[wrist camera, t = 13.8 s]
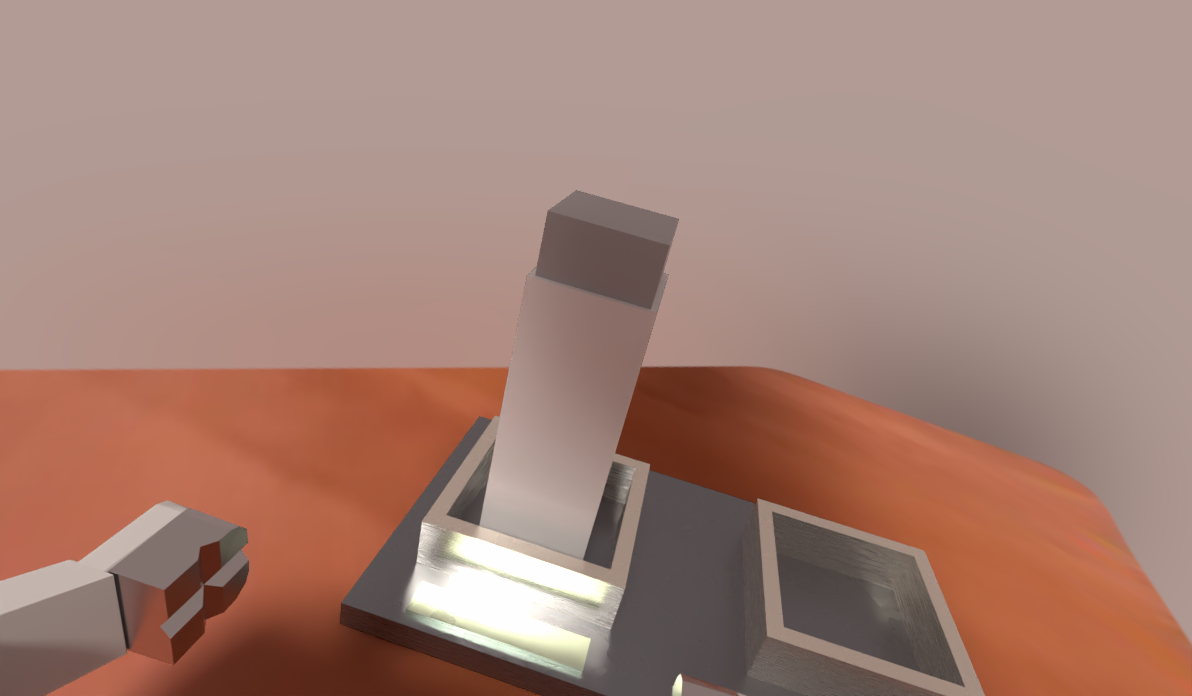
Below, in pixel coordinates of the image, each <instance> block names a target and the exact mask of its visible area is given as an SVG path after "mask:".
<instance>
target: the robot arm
mask: <svg viewBox="0 0 1192 696" xmlns="http://www.w3.org/2000/svg"><path fill="white" fill-rule="evenodd" d="M247 543H248V538H247V529H245V528H243V527H240V526H237V525H235V524H232V523H229V522H227V521H224V520H221V519H218V518H216V517H213V516H210V515H208V514H205V513H202V512H199V511H197V510H194V509H191V508H188V507H186V506H183V505H180V504H177V503H174V502H171V501H165V502H162V503H159V504H156V505H155V506H153V507H152V508H151V509H149V510H148V511H146V512H145V513H144V514H142V515H141V516H140V517H138V518H137V519H136V520H134V521H133V522H132V523H130V524H129V525H127V526H126V527H125V528H123V529H122V530H121V531H119V532H118V533H117V534H115V535H114V536H112V537H111V538H110V539H108V540H107V541H106V542H104V543H103V544H102V545H100V546H99V547H98V548H96V549H95V550H93V551H92V552H91V553H89V554H88V555H87V556H85V557H84V558H83V559H81V560H80V561H79V562H77V561H74V560H67V561H64V562H60V563H57V564H54V565H51V566H48V567H44V568H41V569H38V570H35V571H31V572H28V573H25V574H22V575H19V576H15V577H12V578H9V579H6V580H3V581H0V696H45V695H47V694H49V693H51V692H53V691H55V690H56V689H58V688H60V687H62V686H64V685H66V684H68V683H70V682H72V681H74V680H76V679H78V678H80V677H82V676H84V675H86V674H88V673H90V672H92V671H94V670H96V669H97V668H99V667H101V666H103V665H105V664H107V663H109V662H111V661H113V660H115V659H117V658H119V657H121V656H123V655H125V654H126V653H127V650H129V651H132V652H135V653H138V654H141V655H144V656H147V657H150V658H153V659H156V660H159V661H162V662H166V663H169V664H172V665H174V664H175V663H176V662H177V661H178V660H179V659H180V658H181V657H182V656H183V655H184V654H185V653H186V652H187V651H188V650H189V649H190V648H191V646H192V645H193V644H194V643H195V642H196V641H197V640H198V639H199V638H200V637H201V636H202V635H203V634H204V633H205V626H206V620H207V619H209V618H211V617H214V616H216V615H218V614H221V613H223V612H225V611H226V609H227V608H228V607H229V606H230V605H231V604H232V603H233V602H234V601H235V600H236V598H237V597H238V595H239V593H240V591H241V590H242V588H243V586H244V585H245V583H246V579H247V575H248V572H249V560H248V559H247V557H246V556H245V554H244V553H243V551H242V550H241V549H242V548H243V547H244V546H245V545H246V544H247ZM672 696H746V695H743V694H740V693H736V692H735V691H734V690H731V689H728V688H724V687H721V686H718V685H715V684H712V683H709V682H706V681H703V680H699V679H696V678H693V677H690V676H687V675H684V674H680V675H679V676H678V677H677V678H676V681H675V683H674V685H673V690H672Z"/></svg>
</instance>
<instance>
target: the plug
mask: <svg viewBox="0 0 1192 696" xmlns="http://www.w3.org/2000/svg"><path fill="white" fill-rule="evenodd" d="M678 221H679V219H677V218H674V217H670V216H667V215H663V214H659V213H656V212H652V211H649V210H645V209H641V208H638V207H634V206H630V205H627V204H623V203H620V202H616V201H613V200H609V199H605V198H602V197H599V196H595V195H591V194H588V193H584V192H581V191H577V190H576V191H575V192H573V193H572V194H571V195H569V196H568V197H566V198H565V199H564V200H562V201H561V202H560V203H558V204H557V205H555V206H554V207H552V208H551V209H550V210H548V212H547V218H546V223H545V228H544V234H543V238H542V243H541V248H540V253H539V259H538V263H537V266H536V267H535V268H534V270H532V271H531V272H530V273H529V274H528V275H527V277H526V283H525V288H524V293H523V299H522V304H521V309H520V314H519V320H518V325H517V330H516V335H515V341H514V346H513V351H512V356H511V362H510V367H509V372H508V377H507V383H506V388H505V393H504V399H503V404H502V409H501V414H500V420H499V425H498V430H497V435H496V441H495V446H494V451H493V456H492V462H491V467H490V472H489V478H488V483H487V488H486V493H485V499H484V504H483V509H482V514H481V520H480V525H479V526H481V527H484V528H487V529H490V530H493V531H496V532H499V533H502V534H505V535H508V536H511V537H514V538H517V539H520V540H523V541H526V542H529V543H532V544H535V545H538V546H541V547H544V548H547V549H550V550H553V551H556V552H559V553H562V554H565V555H568V556H571V557H574V558H577V559H580V560H583V558H584V555H585V551H586V548H587V545H588V541H589V538H590V535H591V532H592V528H593V525H594V522H595V518H596V515H597V512H598V508H599V505H600V502H601V498H602V495H603V492H604V488H605V485H606V482H607V478H608V475H609V472H610V468H611V465H612V462H613V458H614V455H615V452H616V448H617V445H618V442H619V438H620V435H621V432H622V428H623V425H624V422H625V418H626V415H627V412H628V408H629V405H630V402H631V398H632V395H633V392H634V388H635V385H636V382H637V379H638V375H639V372H640V369H641V365H642V362H643V359H644V355H645V351H646V349H647V345H648V342H649V338H650V335H651V332H652V329H653V325H654V322H655V318H656V315H657V312H658V308H659V305H660V302H661V298H662V295H663V292H664V289H665V285H666V282H667V278H668V274H666V273H663V272H664V268H665V265H666V262H667V258H668V255H669V251H670V248H671V245H672V241H673V238H674V235H675V231H676V228H677V224H678Z"/></svg>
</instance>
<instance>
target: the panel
mask: <svg viewBox="0 0 1192 696" xmlns="http://www.w3.org/2000/svg"><path fill="white" fill-rule="evenodd" d="M499 420H500V417H498V416H495V417H494V418H493V420H490V419H486V418H483V417H480V416H479V418H478V419H477V420H476V422H475V423H474V424H473V426H472V427H471V428H470V430H469V431H468V433H467V434H466V435H465V437H464V438H463V439H462V441H461V442H460V443H459V445H458V446H457V447H456V449H455V450H454V451H453V453H452V454H451V455H450V457H449V458H448V460H447V461H446V462H445V464H444V465H443V466H442V468H441V469H440V470H439V472H438V473H437V474H436V476H435V477H434V478H433V480H432V481H431V482H430V484H429V485H428V486H427V488H426V489H425V491H424V492H423V493H422V495H421V496H420V497H419V499H418V500H417V501H416V503H415V504H414V505H413V507H412V508H411V509H410V511H409V512H408V513H407V515H406V516H405V518H404V519H403V520H402V522H401V523H400V524H399V526H398V527H397V528H396V530H395V531H394V532H393V534H392V535H391V536H390V538H389V539H388V540H387V542H386V543H385V544H384V546H383V547H382V549H381V550H380V551H379V553H378V554H377V555H376V557H375V558H374V559H373V561H372V562H371V563H370V565H369V566H368V567H367V569H366V570H365V571H364V573H363V574H362V576H361V577H360V578H359V580H358V581H357V582H356V584H355V585H354V586H353V588H352V589H351V590H350V592H349V593H348V594H347V596H346V597H345V598H344V600H343V601H342V602H341V615H340V624H342V625H345V626H348V627H350V628H353V629H356V630H359V631H362V632H365V633H367V634H370V635H373V636H376V637H379V638H382V639H384V640H387V641H390V642H393V643H396V644H399V645H401V646H404V647H407V648H410V649H413V650H416V651H418V652H421V653H424V654H427V655H430V656H433V657H435V658H438V659H441V660H444V661H447V662H450V663H452V664H455V665H458V666H461V667H464V668H467V669H469V670H472V671H475V672H478V673H481V674H483V675H486V676H489V677H492V678H495V679H498V680H500V681H503V682H506V683H509V684H512V685H515V686H517V687H520V688H523V689H526V690H529V691H532V692H534V693H537V694H540V695H543V696H672V690H673V685H674V683H675V681H676V678H677V677H678V676H679V675H680V674H684V675H687V676H690V677H693V678H696V679H699V680H703V681H706V682H709V683H712V684H715V685H718V686H721V687H724V688H728V689H731V690H734V691H735V692H736V693H740V694H743V695H746V696H985V694H984V692H983V690H982V687H981V685H980V682H979V680H978V678H977V675H976V673H975V671H974V668H973V666H972V663H971V661H970V659H969V656H968V654H967V651H966V649H965V647H964V644H963V642H962V639H961V637H960V635H959V632H958V630H957V628H956V625H955V623H954V620H953V618H952V616H951V613H950V611H949V608H948V606H947V604H946V601H945V599H944V596H943V594H942V592H941V589H940V587H939V584H938V582H937V580H936V577H935V575H934V573H933V570H932V568H931V565H930V563H929V561H928V558H927V556H926V553H925V551H924V550H920V549H917V548H914V547H911V546H908V545H905V544H901V543H898V542H895V541H892V540H889V539H886V538H882V537H879V536H876V535H873V534H870V533H866V532H863V531H860V530H857V529H854V528H851V527H847V526H844V525H841V524H838V523H835V522H832V521H828V520H825V519H822V518H819V517H816V516H813V515H809V514H806V513H803V512H800V511H797V510H793V509H790V508H787V507H784V506H781V505H778V504H774V503H771V502H768V501H765V500H762V499H759V498H757V500H756V502H755V503H752V502H749V501H746V500H743V499H740V498H736V497H733V496H730V495H727V494H724V493H721V492H717V491H714V490H711V489H708V488H705V487H702V486H698V485H695V484H692V483H689V482H686V481H683V480H680V479H676V478H673V477H670V476H667V475H664V474H661V473H657V472H654V471H651V470H649V468H650V464H648V463H644V462H641V461H638V460H635V459H632V458H628V457H625V456H622V455H619V454H616V453H615V455H614V458H613V462H612V465H611V468H610V472H609V475H608V478H607V482H606V485H605V488H604V492H603V495H602V498H601V502H600V505H599V508H598V512H597V515H596V518H595V522H594V525H593V528H592V532H591V535H590V538H589V541H588V545H587V548H586V551H585V555H584V558H583V560H580V559H577V558H574V557H571V556H568V555H565V554H562V553H559V552H556V551H553V550H550V549H547V548H544V547H541V546H538V545H535V544H532V543H529V542H526V541H523V540H520V539H517V538H514V537H511V536H508V535H505V534H502V533H499V532H496V531H493V530H490V529H487V528H484V527H481V526H479V525H480V520H481V514H482V509H483V504H484V499H485V493H486V488H487V483H488V478H489V472H490V467H491V462H492V456H493V451H494V446H495V441H496V435H497V430H498V425H499Z"/></svg>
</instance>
